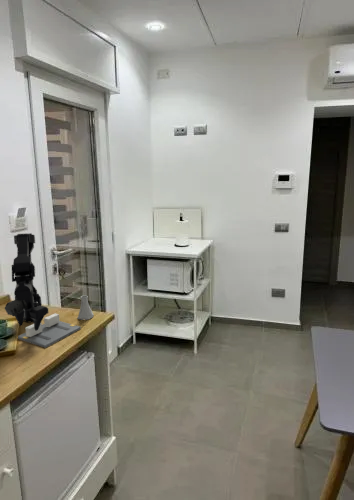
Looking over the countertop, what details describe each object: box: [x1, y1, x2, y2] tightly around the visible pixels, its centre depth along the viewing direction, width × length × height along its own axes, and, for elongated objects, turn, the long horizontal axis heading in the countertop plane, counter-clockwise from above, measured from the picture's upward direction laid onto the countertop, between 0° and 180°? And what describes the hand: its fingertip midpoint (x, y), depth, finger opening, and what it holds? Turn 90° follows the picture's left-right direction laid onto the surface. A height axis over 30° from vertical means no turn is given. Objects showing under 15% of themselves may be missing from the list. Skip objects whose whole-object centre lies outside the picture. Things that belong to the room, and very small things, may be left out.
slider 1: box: [25, 322, 43, 337], centre depth 146 cm, size 2×6×4 cm, turn 151°
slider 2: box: [43, 313, 61, 327], centre depth 155 cm, size 2×6×4 cm, turn 151°
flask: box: [77, 295, 94, 321], centre depth 165 cm, size 7×7×10 cm
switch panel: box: [17, 320, 82, 349], centre depth 149 cm, size 16×19×1 cm
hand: (28, 327), depth 148 cm, fingers open, 9 cm apart
